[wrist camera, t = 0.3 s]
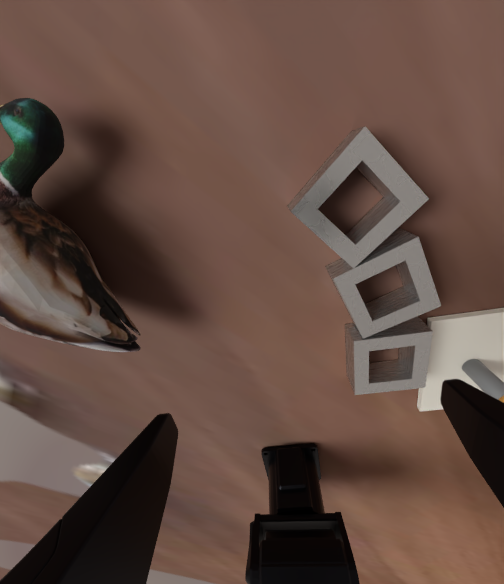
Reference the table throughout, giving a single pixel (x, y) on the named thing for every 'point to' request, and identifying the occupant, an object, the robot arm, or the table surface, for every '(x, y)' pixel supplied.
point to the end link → (393, 373)
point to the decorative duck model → (48, 248)
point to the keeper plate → (465, 354)
